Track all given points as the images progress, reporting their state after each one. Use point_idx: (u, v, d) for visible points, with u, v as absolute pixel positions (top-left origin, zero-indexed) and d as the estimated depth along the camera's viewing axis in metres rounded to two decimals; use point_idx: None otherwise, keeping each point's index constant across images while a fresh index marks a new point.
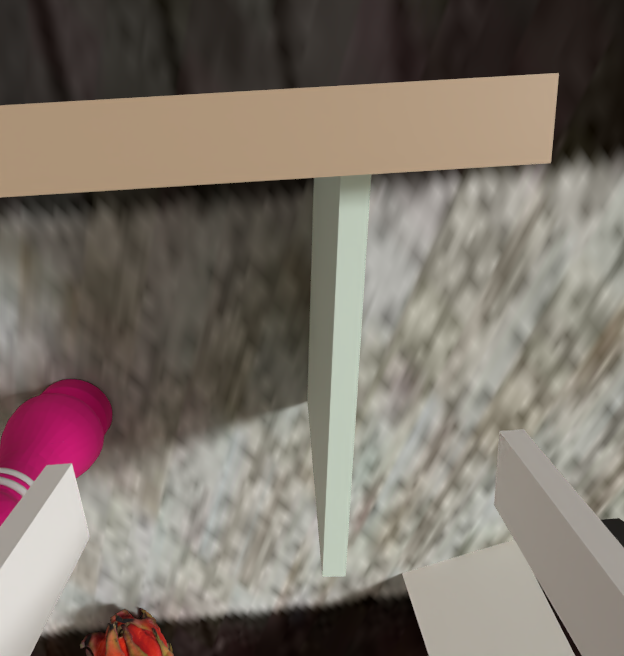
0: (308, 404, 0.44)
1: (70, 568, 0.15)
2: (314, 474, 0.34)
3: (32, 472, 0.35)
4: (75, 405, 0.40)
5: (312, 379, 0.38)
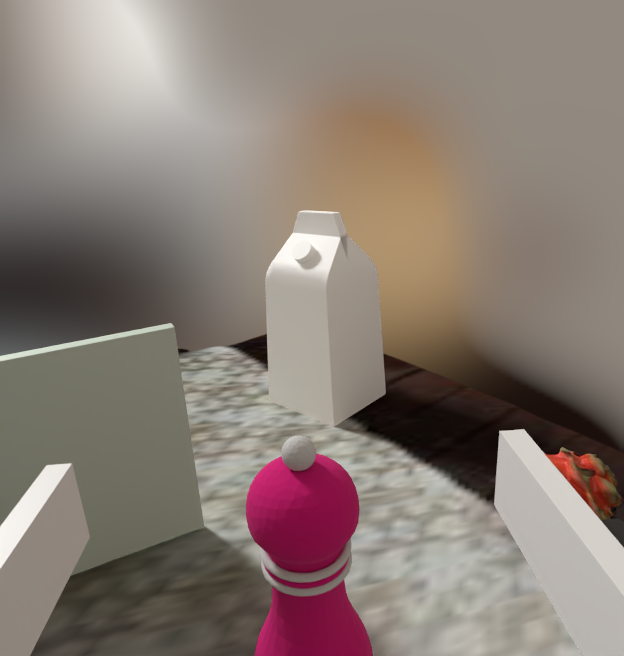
0: (195, 511, 0.48)
1: (70, 568, 0.15)
2: (182, 417, 0.45)
3: None
4: None
5: (140, 486, 0.45)
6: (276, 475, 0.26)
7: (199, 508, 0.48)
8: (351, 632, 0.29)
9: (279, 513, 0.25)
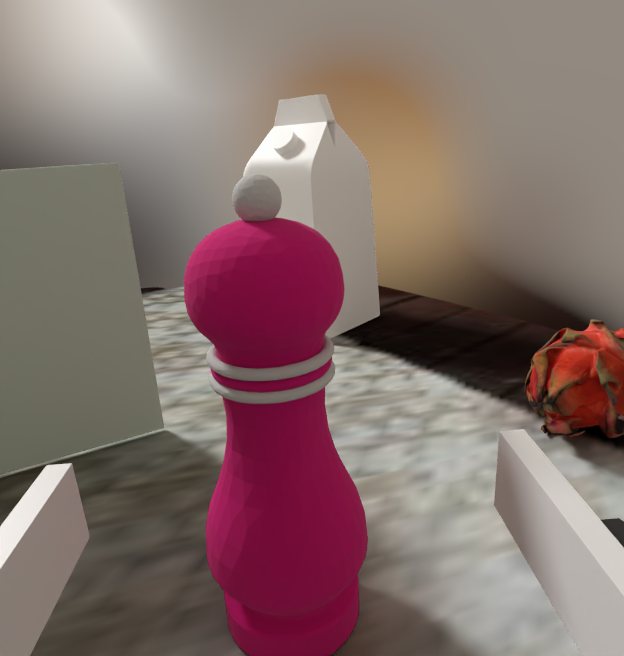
0: (152, 407, 0.40)
1: (70, 568, 0.15)
2: (132, 284, 0.37)
3: None
4: None
5: (82, 368, 0.37)
6: (224, 228, 0.18)
7: (157, 404, 0.40)
8: (335, 477, 0.21)
9: (225, 264, 0.17)
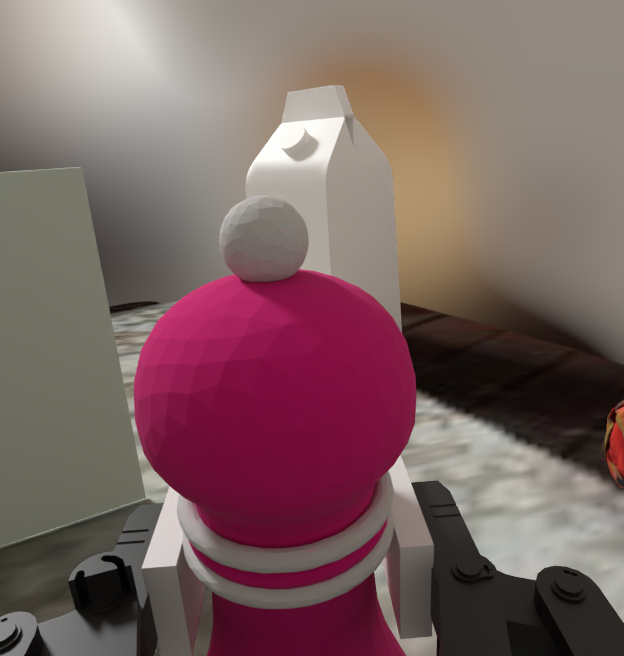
0: (130, 473, 0.32)
1: None
2: (102, 323, 0.29)
3: None
4: None
5: (37, 431, 0.29)
6: (205, 294, 0.10)
7: (137, 469, 0.32)
8: None
9: (203, 375, 0.09)
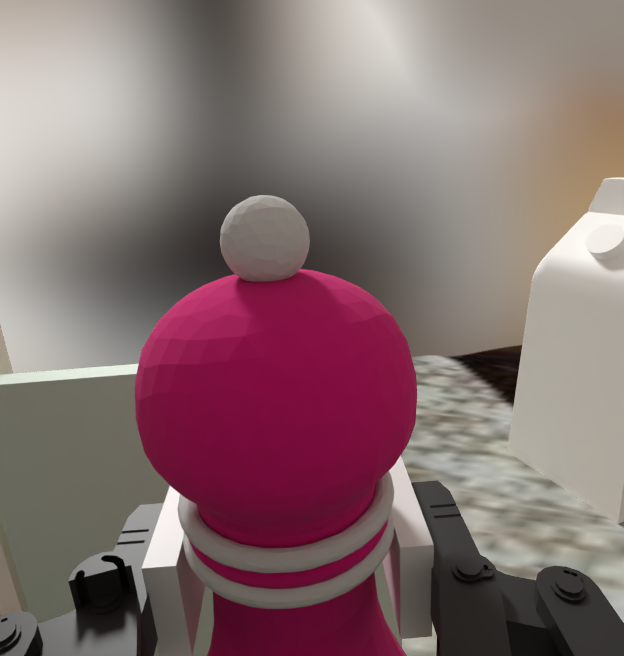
0: None
1: None
2: None
3: None
4: None
5: None
6: (206, 294, 0.10)
7: (398, 639, 0.30)
8: None
9: (203, 374, 0.09)
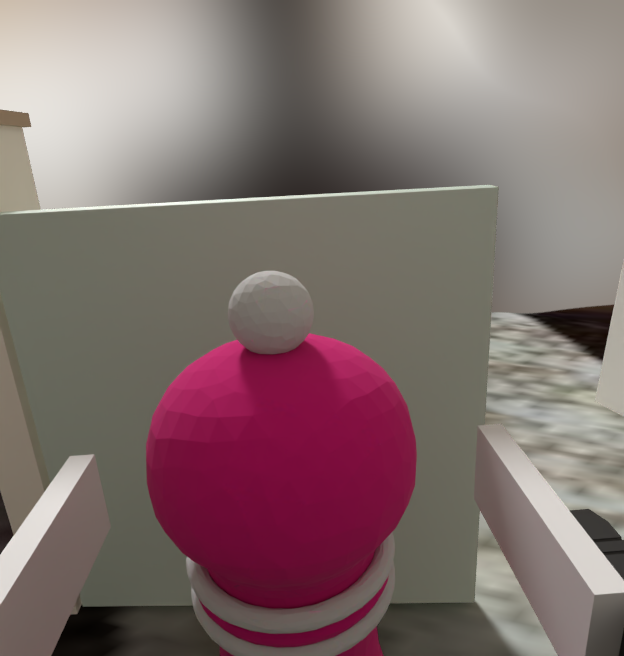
0: (463, 570, 0.25)
1: (93, 556, 0.15)
2: (475, 388, 0.22)
3: None
4: None
5: None
6: (215, 366, 0.11)
7: (472, 568, 0.25)
8: None
9: (214, 453, 0.09)
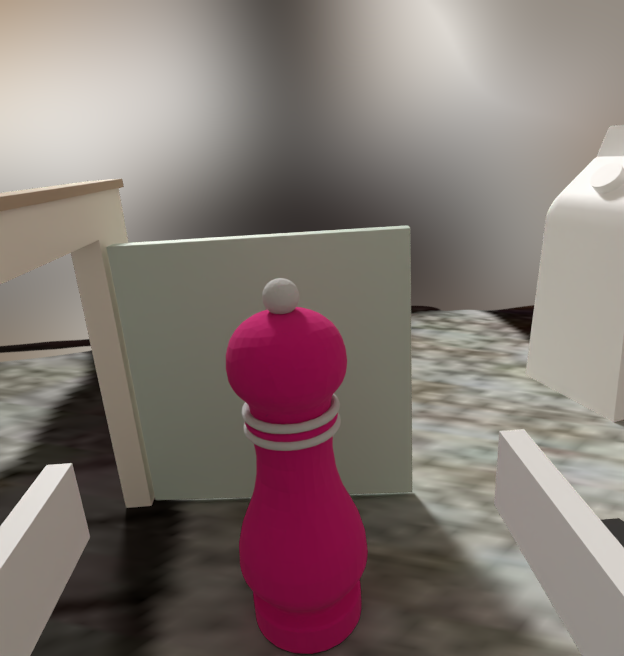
0: (404, 470, 0.39)
1: (70, 568, 0.15)
2: (404, 348, 0.36)
3: None
4: None
5: (344, 420, 0.38)
6: (256, 319, 0.25)
7: (409, 468, 0.39)
8: (341, 503, 0.27)
9: (258, 351, 0.23)
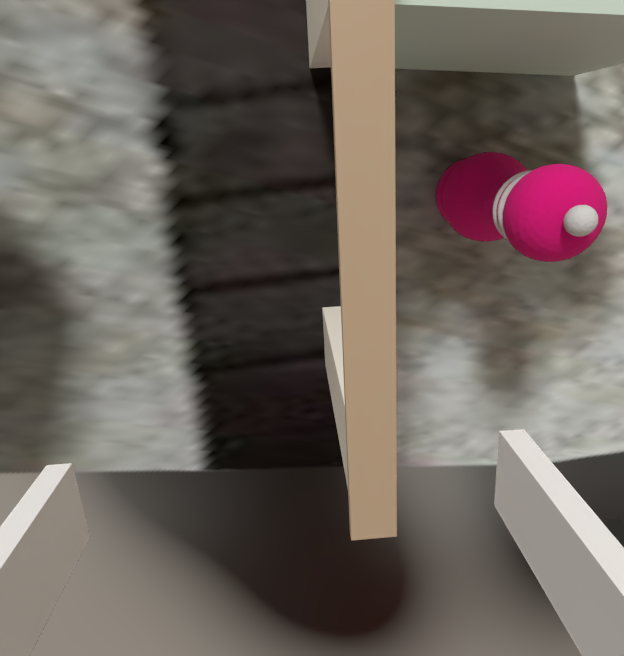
0: (578, 72, 0.42)
1: (70, 568, 0.15)
2: None
3: (496, 196, 0.37)
4: (446, 193, 0.43)
5: (552, 61, 0.38)
6: (551, 228, 0.31)
7: (583, 72, 0.42)
8: None
9: (543, 255, 0.32)
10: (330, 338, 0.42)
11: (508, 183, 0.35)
